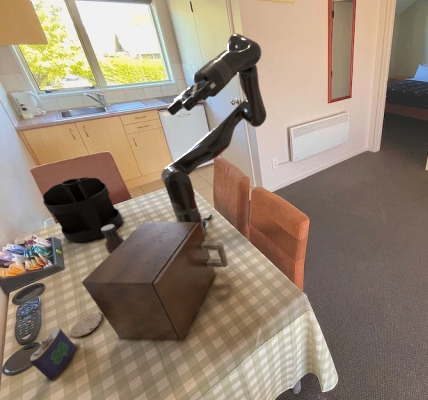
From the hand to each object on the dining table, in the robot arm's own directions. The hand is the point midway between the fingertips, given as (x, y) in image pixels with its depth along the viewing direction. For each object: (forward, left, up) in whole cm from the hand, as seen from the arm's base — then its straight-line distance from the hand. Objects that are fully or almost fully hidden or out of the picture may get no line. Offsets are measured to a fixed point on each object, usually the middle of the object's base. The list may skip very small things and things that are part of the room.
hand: (177, 110), depth 71 cm
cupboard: (+14, -13, -60) cm, 63 cm away
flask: (+34, -33, -60) cm, 77 cm away
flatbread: (+23, -35, -60) cm, 73 cm away
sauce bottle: (-1, -38, -60) cm, 71 cm away
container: (-27, -71, -60) cm, 97 cm away
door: (+14, 0, -60) cm, 61 cm away
